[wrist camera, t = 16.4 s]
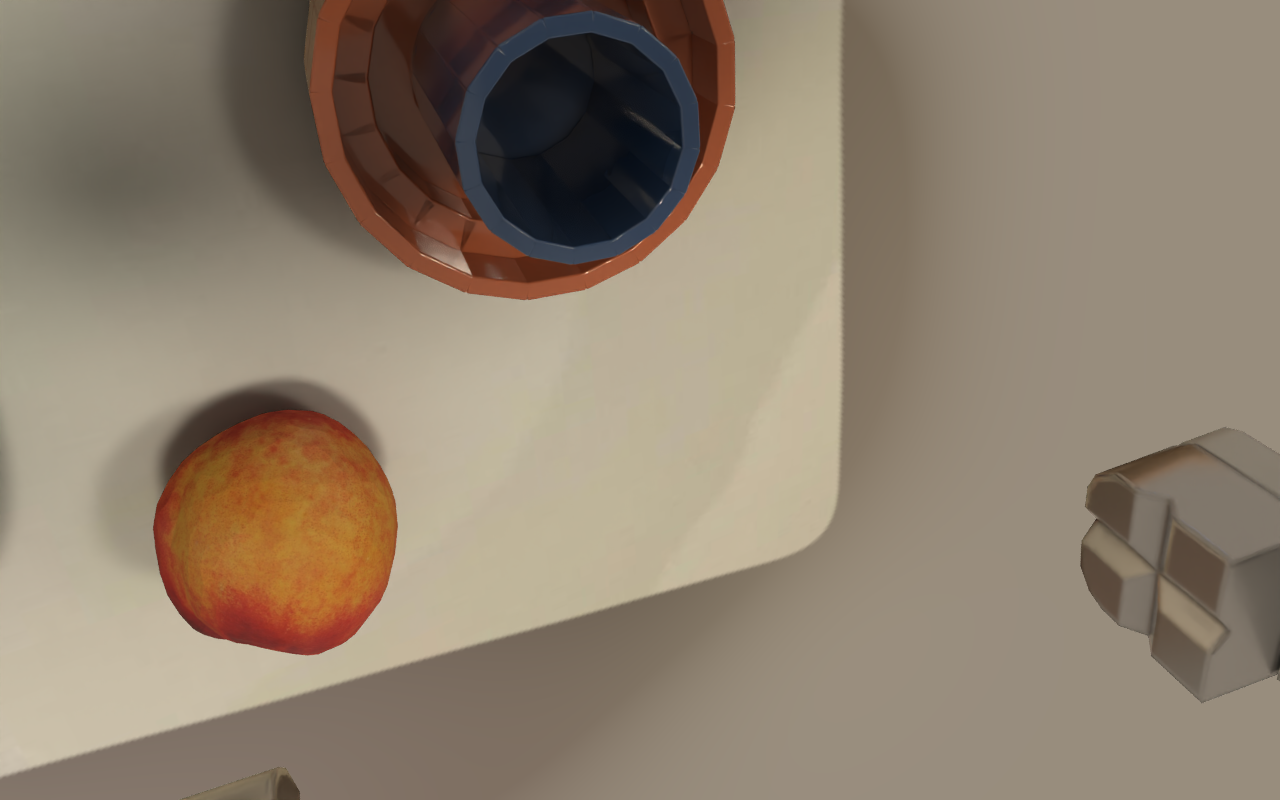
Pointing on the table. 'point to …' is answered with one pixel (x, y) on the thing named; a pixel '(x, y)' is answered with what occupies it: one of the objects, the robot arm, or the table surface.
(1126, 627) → the robot arm
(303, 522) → the fruit
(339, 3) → the terracotta bowl
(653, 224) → the cup
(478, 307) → the table surface
